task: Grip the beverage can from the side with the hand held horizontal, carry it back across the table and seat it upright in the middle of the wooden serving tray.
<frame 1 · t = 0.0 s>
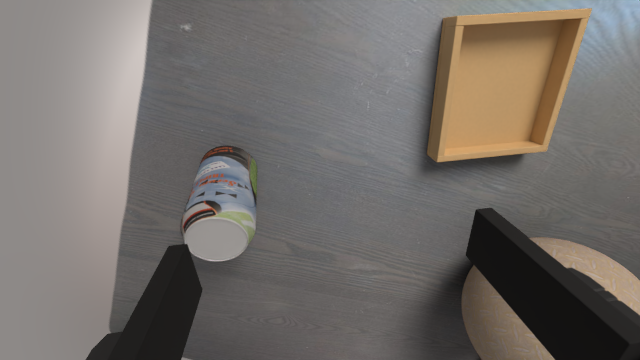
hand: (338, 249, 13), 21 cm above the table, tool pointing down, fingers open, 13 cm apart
wooden serving tray: (491, 88, 32), on the table
decorative sphere: (495, 262, 45), on the table
beverage can: (233, 170, 33), on the table
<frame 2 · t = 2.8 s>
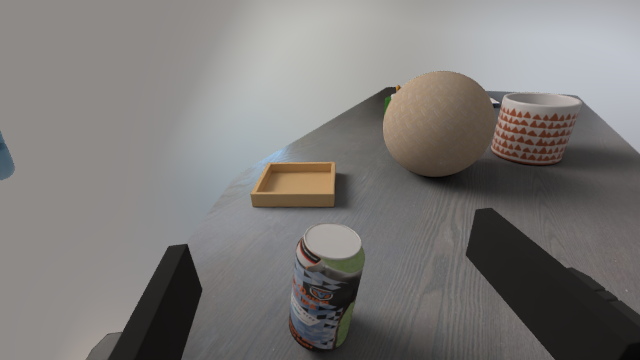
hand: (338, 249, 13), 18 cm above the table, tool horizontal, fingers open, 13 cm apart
candle: (396, 114, 102), on the table
wooden serving tray: (298, 188, 57), on the table
decorative sphere: (428, 172, 61), on the table
planter: (523, 154, 67), on the table
beverage can: (326, 330, 30), on the table
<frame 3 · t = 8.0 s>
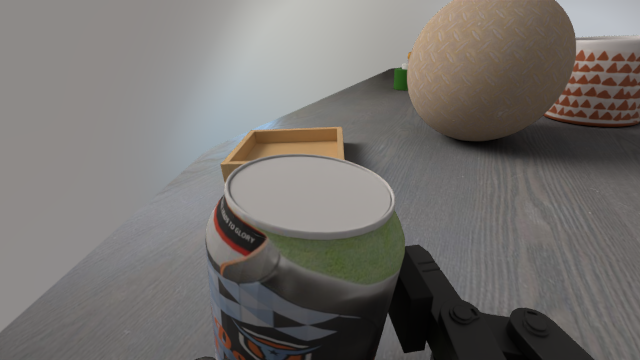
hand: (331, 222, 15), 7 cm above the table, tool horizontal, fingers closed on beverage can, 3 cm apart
candle: (407, 88, 87), on the table
wooden serving tray: (291, 160, 41), on the table
decorative sphere: (468, 138, 45), on the table
planter: (585, 117, 51), on the table
when the fingers open (7 cm above the table, at t = 17.1 s): beverage can stays where it is, resting on wooden serving tray.
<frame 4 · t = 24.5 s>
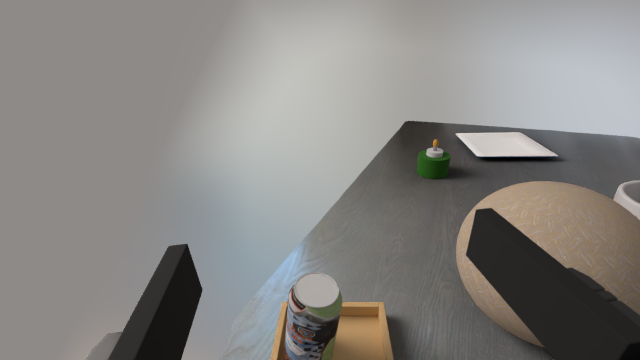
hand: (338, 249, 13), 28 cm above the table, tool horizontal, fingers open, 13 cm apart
candle: (431, 173, 83), on the table
plate: (499, 149, 96), on the table
decorative sphere: (522, 315, 41), on the table
beverage can: (314, 356, 37), resting on wooden serving tray
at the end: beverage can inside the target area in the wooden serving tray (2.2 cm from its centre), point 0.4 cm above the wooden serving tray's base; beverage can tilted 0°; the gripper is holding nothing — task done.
